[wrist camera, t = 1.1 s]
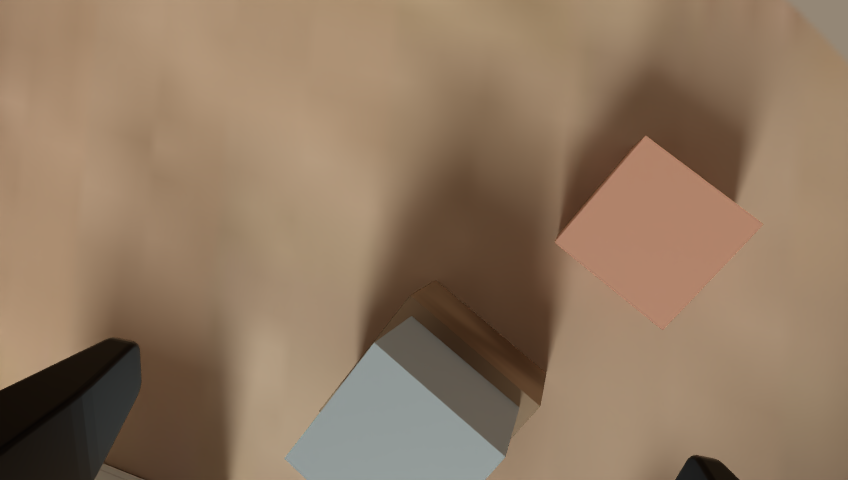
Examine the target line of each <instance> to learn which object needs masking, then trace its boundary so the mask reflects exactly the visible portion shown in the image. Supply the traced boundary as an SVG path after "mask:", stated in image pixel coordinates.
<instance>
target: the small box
mask: <svg viewBox="0 0 848 480" xmlns="http://www.w3.org/2000/svg"><path fill="white" fill-rule="evenodd" d="M95 480H144V479H141V478H139V477H136V476H134V475H131V474H129V473H126V472H124V471H121V470H118V469H116V468H113V467H111V466H109V465H106V464H104V463H103V465H102V467H101V468H100V470H99V472H98V474H97V476H96V478H95Z"/></svg>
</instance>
